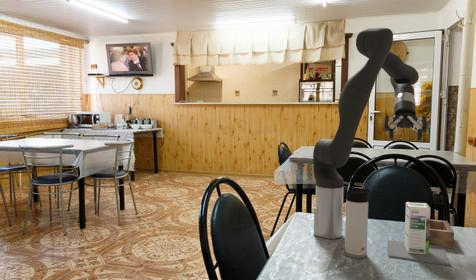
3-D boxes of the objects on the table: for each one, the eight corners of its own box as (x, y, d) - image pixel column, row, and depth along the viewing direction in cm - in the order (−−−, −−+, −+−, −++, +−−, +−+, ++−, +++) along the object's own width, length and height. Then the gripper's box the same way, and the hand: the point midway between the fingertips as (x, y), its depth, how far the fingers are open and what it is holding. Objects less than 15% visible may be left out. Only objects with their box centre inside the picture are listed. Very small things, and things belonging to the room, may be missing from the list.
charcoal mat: (388, 256, 105) (388, 255, 105) (387, 241, 117) (387, 240, 117) (450, 265, 99) (450, 264, 99) (443, 248, 111) (443, 246, 111)
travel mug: (369, 259, 103) (371, 192, 102) (345, 257, 105) (347, 191, 103) (366, 251, 110) (368, 187, 108) (343, 249, 111) (345, 186, 109)
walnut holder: (410, 242, 116) (411, 227, 116) (408, 230, 127) (408, 217, 127) (453, 248, 112) (454, 232, 111) (446, 235, 123) (447, 221, 122)
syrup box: (407, 253, 106) (409, 206, 105) (403, 246, 112) (405, 201, 111) (428, 255, 105) (431, 207, 103) (423, 247, 111) (426, 202, 109)
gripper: (384, 99, 137) (384, 131, 127) (426, 99, 131) (429, 132, 122) (384, 113, 142) (383, 144, 133) (424, 113, 137) (426, 146, 127)
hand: (405, 139), depth 127 cm, fingers open, 8 cm apart
